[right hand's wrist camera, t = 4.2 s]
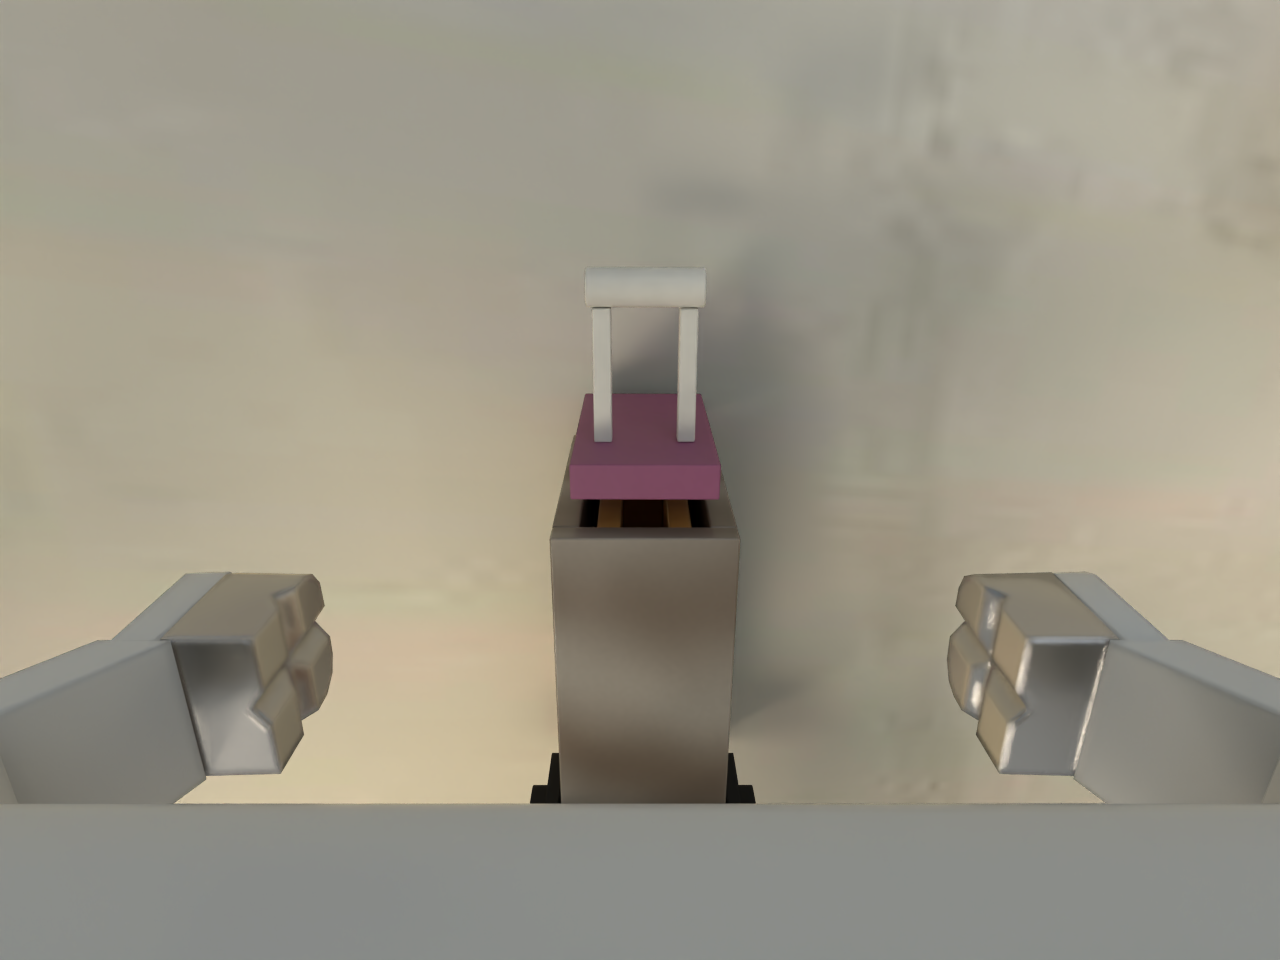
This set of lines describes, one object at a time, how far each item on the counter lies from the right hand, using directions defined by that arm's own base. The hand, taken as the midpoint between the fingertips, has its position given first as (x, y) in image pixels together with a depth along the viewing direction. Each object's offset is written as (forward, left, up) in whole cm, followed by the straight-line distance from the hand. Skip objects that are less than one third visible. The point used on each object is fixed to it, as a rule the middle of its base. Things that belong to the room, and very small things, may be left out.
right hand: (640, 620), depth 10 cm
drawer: (-8, -3, -23) cm, 24 cm away
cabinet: (-13, -5, -24) cm, 27 cm away
